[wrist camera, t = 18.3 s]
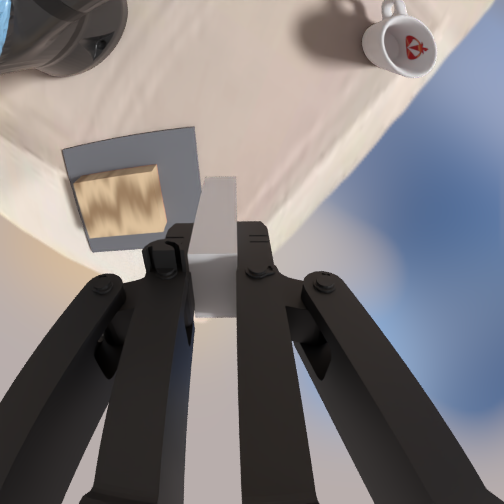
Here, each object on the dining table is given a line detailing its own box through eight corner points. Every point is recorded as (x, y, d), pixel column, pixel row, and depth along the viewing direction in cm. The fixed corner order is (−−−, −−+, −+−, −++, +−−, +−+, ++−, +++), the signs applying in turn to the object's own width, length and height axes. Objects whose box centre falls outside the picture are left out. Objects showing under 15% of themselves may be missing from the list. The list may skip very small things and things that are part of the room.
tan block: (156, 164, 39) (81, 175, 39) (151, 171, 37) (73, 183, 36) (167, 221, 44) (96, 228, 44) (163, 231, 42) (89, 238, 42)
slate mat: (64, 149, 37) (62, 150, 36) (194, 126, 37) (194, 127, 37) (93, 250, 47) (92, 252, 47) (208, 242, 47) (208, 244, 47)
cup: (348, -2, 27) (373, -13, 21) (401, 6, 27) (433, 0, 21) (356, 71, 33) (382, 75, 27) (407, 75, 33) (439, 81, 27)
